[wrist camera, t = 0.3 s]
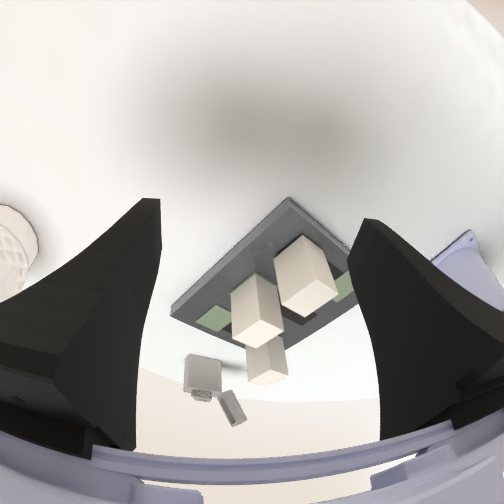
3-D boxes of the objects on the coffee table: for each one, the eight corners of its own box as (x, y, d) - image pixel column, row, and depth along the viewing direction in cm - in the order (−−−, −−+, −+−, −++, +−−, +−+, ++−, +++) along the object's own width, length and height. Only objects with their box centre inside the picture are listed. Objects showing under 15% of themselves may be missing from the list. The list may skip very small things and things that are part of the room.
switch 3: (323, 250, 23) (338, 294, 19) (294, 273, 24) (304, 317, 21) (302, 234, 22) (316, 278, 18) (273, 259, 23) (281, 304, 20)
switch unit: (378, 277, 27) (383, 287, 26) (269, 349, 34) (270, 359, 33) (287, 197, 21) (290, 207, 20) (171, 306, 28) (169, 317, 27)
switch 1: (276, 287, 25) (284, 330, 22) (252, 305, 26) (256, 348, 23) (255, 274, 24) (260, 319, 20) (230, 294, 25) (232, 338, 22)
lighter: (184, 360, 35) (182, 421, 29) (188, 353, 34) (186, 416, 28) (238, 370, 37) (241, 428, 31) (243, 364, 36) (247, 424, 30)
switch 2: (282, 337, 30) (288, 375, 27) (262, 350, 31) (266, 386, 28) (265, 330, 29) (270, 369, 26) (245, 343, 30) (248, 381, 27)
